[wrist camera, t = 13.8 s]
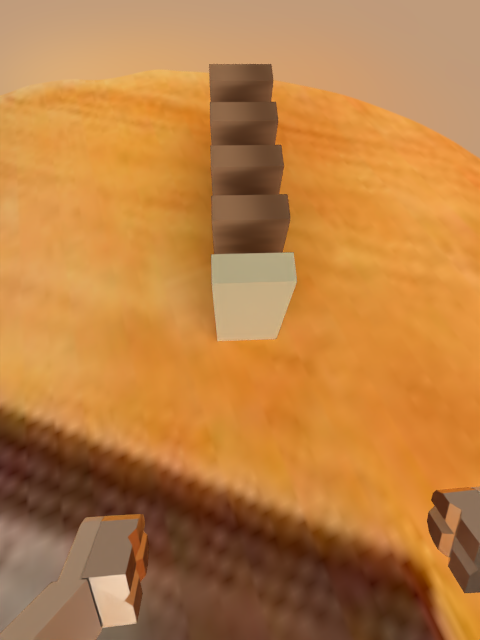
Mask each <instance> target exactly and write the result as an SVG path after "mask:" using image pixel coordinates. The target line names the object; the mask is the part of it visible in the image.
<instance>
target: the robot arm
mask: <svg viewBox="0 0 480 640" xmlns="http://www.w3.org/2000/svg"><path fill="white" fill-rule="evenodd" d="M431 501H432V502H433V504H434V505H435V506H434V507H433V508H432V509H431V510H430V511H429V513H428V519H427V523H428V528H429V532H430V535H431V537H432V540H433V542H434V543H435V545H436V547H437V549H438V550H439V551H441V552H442V553H443V554H445V555H446V556H447V557H449V562H448V567H449V568H450V570H451V572H452V573H453V575H454V577H455V578H456V580H457V582H458V583H459V585H460V586H461V588H462V590H463V591H464V593H476V592H480V487H471V488H469V487H465V488H455V489H444V490H436V491H435V492H434V493H433V495H432V499H431ZM144 526H145V521H144V516H143V514H137V515H117V516H100V517H86V518H85V519H84V520H83V522H82V523H81V525H80V527H79V530H78V532H77V535H76V537H75V540H74V542H73V545H72V547H71V550H70V552H69V555H68V557H67V560H66V562H65V565H64V567H63V569H62V572H61V574H60V577H59V579H58V581H57V582H51V583H50V584H49V585H48V586H47V587H46V588H45V589H44V590H43V591H42V592H41V593H40V594H39V595H38V596H37V597H36V598H35V599H34V600H33V601H32V602H31V603H30V604H29V605H28V606H27V607H26V608H25V609H24V610H23V611H22V612H21V613H20V614H19V615H18V616H17V617H16V618H15V619H14V620H13V621H12V622H11V623H10V624H9V625H8V626H7V627H6V628H5V629H4V630H3V631H2V632H1V633H0V640H96V638H97V637H98V636H99V634H100V633H101V631H102V628H104V627H112V626H120V625H128V624H136V623H137V620H138V615H139V610H140V604H141V599H142V594H143V593H142V588H141V583H140V582H141V580H142V579H143V578H144V577H145V575H146V572H147V566H148V556H149V543H148V536H147V534H146V533H144V532H143V531H144Z"/></svg>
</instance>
